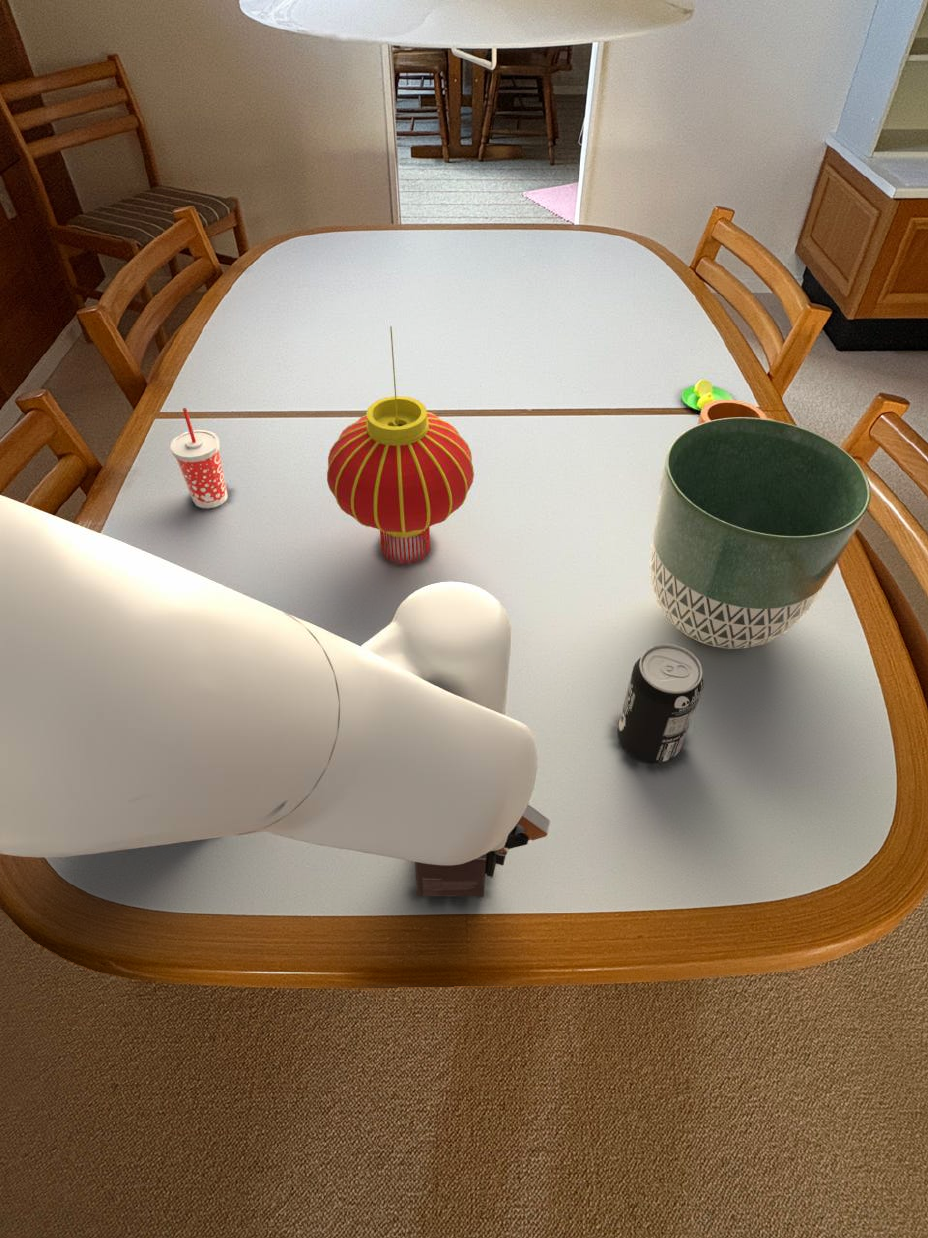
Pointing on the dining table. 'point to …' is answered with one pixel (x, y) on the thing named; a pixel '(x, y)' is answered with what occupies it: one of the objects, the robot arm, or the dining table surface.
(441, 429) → the lantern
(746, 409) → the mug
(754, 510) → the planter
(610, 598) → the dining table surface
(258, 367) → the dining table surface
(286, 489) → the dining table surface
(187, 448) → the beverage cup
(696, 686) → the beverage can
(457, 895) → the box
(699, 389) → the green dish
